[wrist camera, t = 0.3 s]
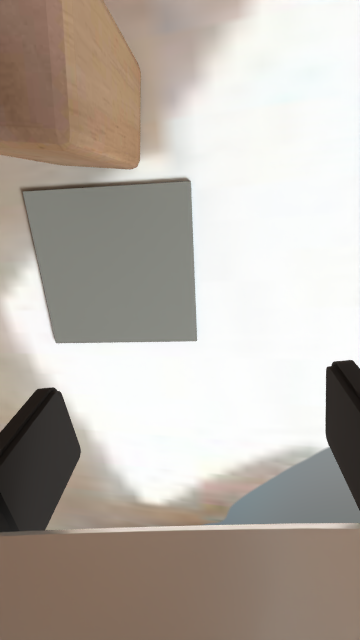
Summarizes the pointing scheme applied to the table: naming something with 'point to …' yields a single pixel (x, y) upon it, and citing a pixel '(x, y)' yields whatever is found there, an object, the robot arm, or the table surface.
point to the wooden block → (67, 85)
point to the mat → (116, 261)
